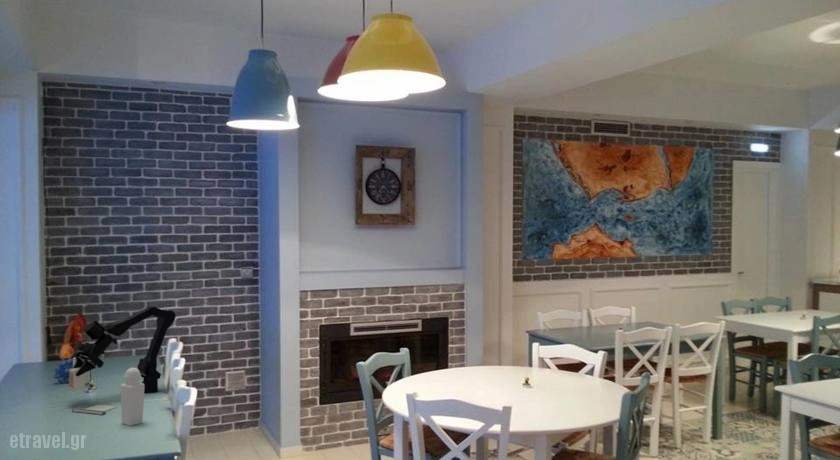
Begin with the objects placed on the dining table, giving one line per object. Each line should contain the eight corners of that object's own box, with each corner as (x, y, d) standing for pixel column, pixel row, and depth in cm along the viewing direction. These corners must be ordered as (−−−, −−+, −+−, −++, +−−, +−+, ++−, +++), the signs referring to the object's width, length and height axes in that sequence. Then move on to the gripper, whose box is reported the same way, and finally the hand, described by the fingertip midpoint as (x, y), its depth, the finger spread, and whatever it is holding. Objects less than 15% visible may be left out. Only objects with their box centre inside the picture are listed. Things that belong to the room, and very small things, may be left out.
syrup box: (83, 387, 313) (83, 357, 313) (72, 387, 314) (72, 357, 314) (91, 385, 319) (91, 355, 319) (80, 384, 320) (81, 355, 320)
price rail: (105, 414, 270) (105, 411, 270) (103, 415, 268) (103, 412, 268) (74, 410, 274) (74, 408, 274) (71, 411, 273) (71, 408, 273)
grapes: (80, 380, 329) (80, 356, 329) (80, 383, 323) (80, 358, 323) (54, 382, 324) (54, 358, 324) (53, 385, 318) (53, 360, 318)
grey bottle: (129, 426, 254) (130, 370, 254) (119, 423, 257) (120, 368, 257) (144, 422, 259) (145, 367, 259) (134, 419, 263) (135, 365, 263)
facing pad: (116, 407, 280) (116, 406, 280) (99, 413, 270) (99, 412, 270) (97, 405, 283) (97, 404, 283) (79, 411, 273) (79, 410, 273)
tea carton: (80, 387, 286) (80, 367, 286) (84, 389, 283) (85, 368, 283) (68, 389, 282) (69, 369, 282) (73, 391, 279) (73, 370, 279)
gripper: (77, 332, 291) (51, 360, 283) (96, 337, 279) (69, 367, 271) (95, 347, 297) (69, 375, 289) (114, 353, 285) (88, 382, 277)
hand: (73, 375), depth 281 cm, fingers closed on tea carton, 5 cm apart
